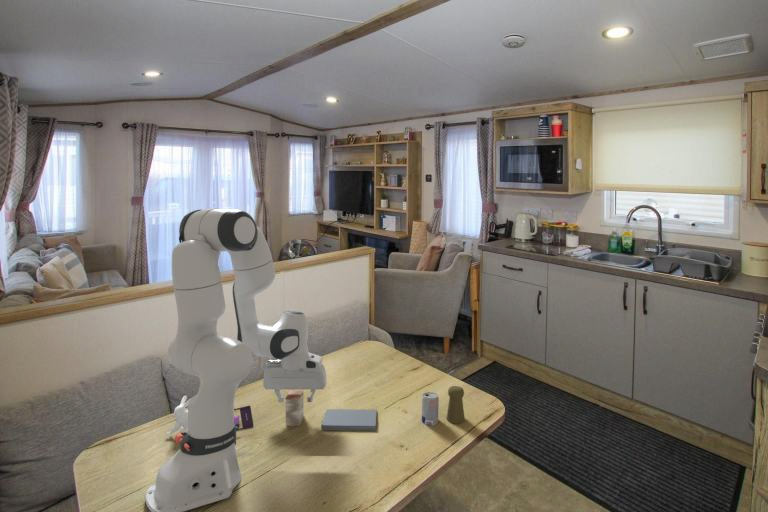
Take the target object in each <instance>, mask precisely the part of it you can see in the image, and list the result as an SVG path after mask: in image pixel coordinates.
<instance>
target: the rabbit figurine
mask: <svg viewBox="0 0 768 512" xmlns="http://www.w3.org/2000/svg"><path fill="white" fill-rule="evenodd" d="M190 400H191V398H189V399H188V396H187V395H184V396H182V398H181V401H180V402H179V403H180V404H179V405H177V406H175V408H174V412H173V415H172V416H173V417H174V419H175V423H174V425H173V426H172V427H171V429H170V431H168V432H166V433H165V435H168V436H169V435H171V434H174V433H175V432H177V431H178V430H179V433H180V434H182V433H185V434H187V432H188V409H186V407H187V408H188V404H189V401H190Z"/></svg>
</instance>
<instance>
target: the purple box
mask: <svg viewBox="0 0 768 512" xmlns="http://www.w3.org/2000/svg"><path fill="white" fill-rule="evenodd" d="M238 410H239V414H240V415H236V414H234V424H235V425H236V431H240V430H245V429H249V428H254V421H253V414H252V408H251V405H246V406H242V407H237V408H234V412H235V411H238ZM240 420H241V421H240ZM240 422H241V425H242V426H241V428H240V426H239V423H240Z"/></svg>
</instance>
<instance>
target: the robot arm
mask: <svg viewBox="0 0 768 512" xmlns="http://www.w3.org/2000/svg"><path fill="white" fill-rule="evenodd" d="M178 235H179V237H178V242H179V243H178V244H176V246H175V247H173V249H172V253H171V278H172V285H173V286H172V287H173V291H174V296H175V297H174V298H175V302H176V309H177V310H176V311H177V317H178V318H177V319H178V320H177V331H176V335H175V337H174V338H173V339H172V341H171V342H170V344H169V346H168V349H167V358H168V362H169V363H170V364H171V365H172V366H174V367H175V368H176V369H177V370H179V371H180V372H182V373H185V374H188V375H192V376H196V377H198V379H199V388H198V391H197V393H196V394H195V395H194V396H192V397H191V398H190V399H191V400H190V401H189V404H188V406H187V410H188V432H187V433H185V435H183V434H182V433H180V432H179V433H177V434H175V436H174V438H173V440H174V441H175V442H176V444H179V445H180V449H178V451H176V453H175V454H174V455H172V457H170V458H169V459H168V460H167V461H166V462H165V463H163V465H162V466H160V468H159V469H158V471H157V474H156V475H157V476H156V478H155V479H156V480H155V484H153V485H150V487H148V488H147V490H146V492H145V504H146V506H147V508H148V509H149V510H150V511H149V512H186V511H189V510H193V509H196V508H199V507H202V506H206V505H208V504H209V505H210V504H213V503H216V502H219V501H221V500H226V499H228V498H230V497H231V495H232V493H233V490H234V489H235V488H236V487H237V485H239V483H240V482H241V480H242V473H241V469H240V465H239V461H238V456H237V451H236V445H237V430H236V425H235V424H234V415H235V411H234V409H235V399H236V398H235V397H236V393H237V390H238V387H239V385H240V383H241V382H242V381H243V380H244V379H245V378H246V377H248V375H249V374H250V373H251V371H252V369H253V365H254V360H255V359H254V357H255V356H256V357H262V358H266V359H267V358H269V360H268V359H267V360H266V361H265V362H264V363H262V364H263V365H262V371H263V374H264V375H263V385H262V386H263V388H264V389H265V390H274V395H276V397H277V399H278V403H284V402H285V395H283V394H281V390H310V393H311V394H308V396H307V401H306V402H307V403H313V401H314V394H315V393H316V391H317V390H324V389H325V387H326V386H327V383H328V382H327V371H326V368H325V366H324V364H323V359H324V358H323V357H322V356H321V355H318V354H315V353H311V352H309V347H308V339H309V334H308V333H309V329H308V328H309V327H308V321H307V316H306V314H305V313H304V312H302V311H301V312H300V311H294V310H293V311H292V310H286V311H283V312H281V315H280V318H279V320H277V321H276V322H275V323H274V324H272V325H269V324H263V323H261V322H260V321H259V319H258V317H257V316H258V315H257V310H256V309H257V308H256V303H255V297H256V295H259V294H260V293H262V292H264V291H266V290H267V289H268V288H269V287H271V285H272V284H273V283H274V280H275V277H276V267H275V263H274V260H273V256H272V253H271V250H270V247H269V244H268V241H267V240H266V239H267V238H265V237H266V236H265V234H264V233H263V231H262V229H261V228H260V227H259V226H257V223H256V221H255V219H254V218H253V217H252V215H251V214H250V213H248V212H246V211H244V210H241V209H235V208H232V209H225V208H218V207H214V208H206V209H196V210H195V209H194V210H193V211H190V212H188V213H186V214H185V215H184V216H183V217H182V219H181V221H180V224H179V228H178ZM221 252H227V253H228V254H229V257H230V261H231V265H232V269H233V272H234V282H233V284H232V298H233V305H234V312H235V318H236V324H237V337H236V338H237V339H236V338H234V337H227V336H222V335H219V334H218V331H217V328H218V327H217V326H218V325H217V324H218V320H219V319H220V318H221V316H223V315H224V313H225V310H226V301H225V294H224V288H223V282H222V281H223V280H222V277H221V272H220V267H219V258H220V255H221Z"/></svg>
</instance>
